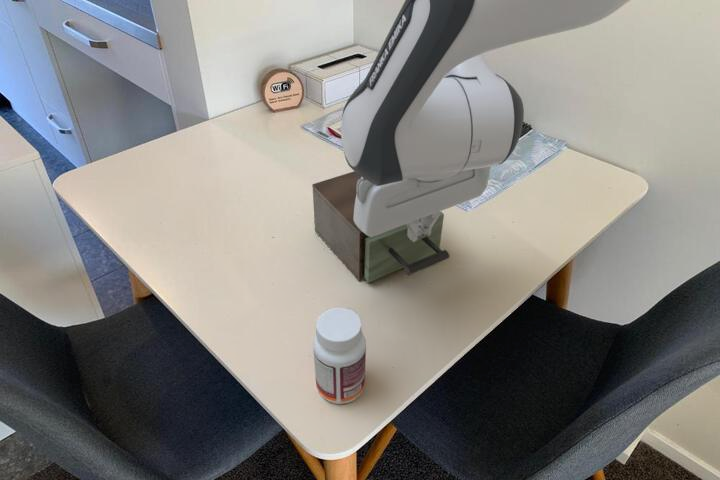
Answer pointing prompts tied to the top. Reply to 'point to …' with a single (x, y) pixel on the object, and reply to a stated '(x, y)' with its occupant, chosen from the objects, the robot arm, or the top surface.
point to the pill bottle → (339, 355)
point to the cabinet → (340, 220)
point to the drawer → (402, 251)
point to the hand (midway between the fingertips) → (418, 236)
